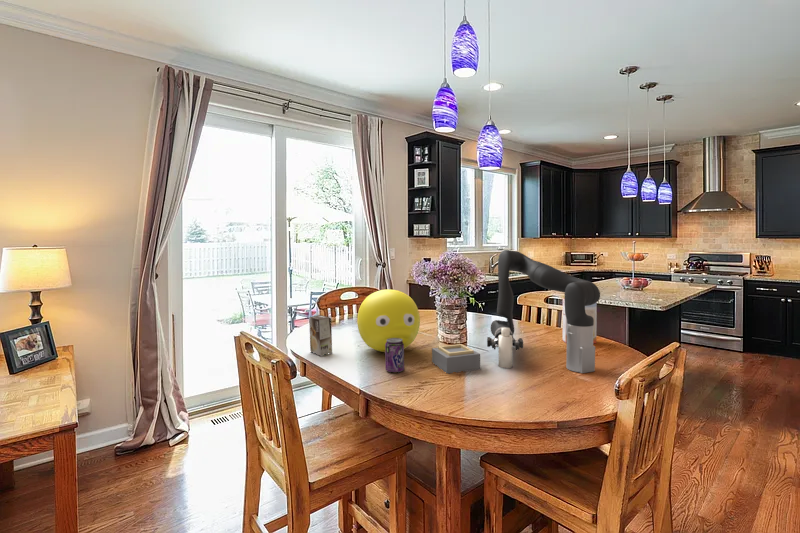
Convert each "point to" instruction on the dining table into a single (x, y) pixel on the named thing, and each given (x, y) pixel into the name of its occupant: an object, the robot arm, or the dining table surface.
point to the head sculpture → (388, 318)
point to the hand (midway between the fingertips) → (505, 347)
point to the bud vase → (505, 348)
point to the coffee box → (320, 335)
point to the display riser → (455, 358)
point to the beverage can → (394, 355)
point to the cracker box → (590, 311)
